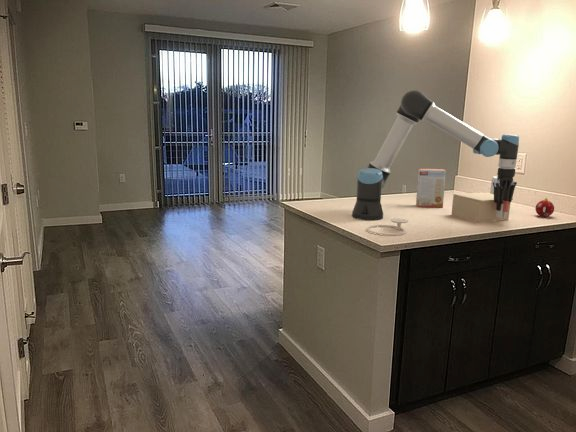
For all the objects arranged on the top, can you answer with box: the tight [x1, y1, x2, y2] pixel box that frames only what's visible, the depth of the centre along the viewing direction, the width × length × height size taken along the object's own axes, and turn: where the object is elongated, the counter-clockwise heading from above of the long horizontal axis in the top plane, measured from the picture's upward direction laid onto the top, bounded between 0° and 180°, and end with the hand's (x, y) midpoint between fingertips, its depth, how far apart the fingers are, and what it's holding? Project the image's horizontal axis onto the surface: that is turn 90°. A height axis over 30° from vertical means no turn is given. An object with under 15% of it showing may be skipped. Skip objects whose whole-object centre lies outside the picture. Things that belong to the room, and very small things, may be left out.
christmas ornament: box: [535, 197, 555, 218], centre depth 245 cm, size 9×9×10 cm
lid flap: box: [453, 191, 514, 212], centre depth 235 cm, size 20×25×5 cm
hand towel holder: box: [365, 217, 409, 237], centre depth 207 cm, size 17×4×21 cm
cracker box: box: [415, 168, 447, 209], centre depth 263 cm, size 14×6×21 cm, turn 84°
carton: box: [451, 196, 512, 224], centre depth 239 cm, size 20×18×10 cm
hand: (500, 216), depth 228 cm, fingers closed on lid flap, 1 cm apart
